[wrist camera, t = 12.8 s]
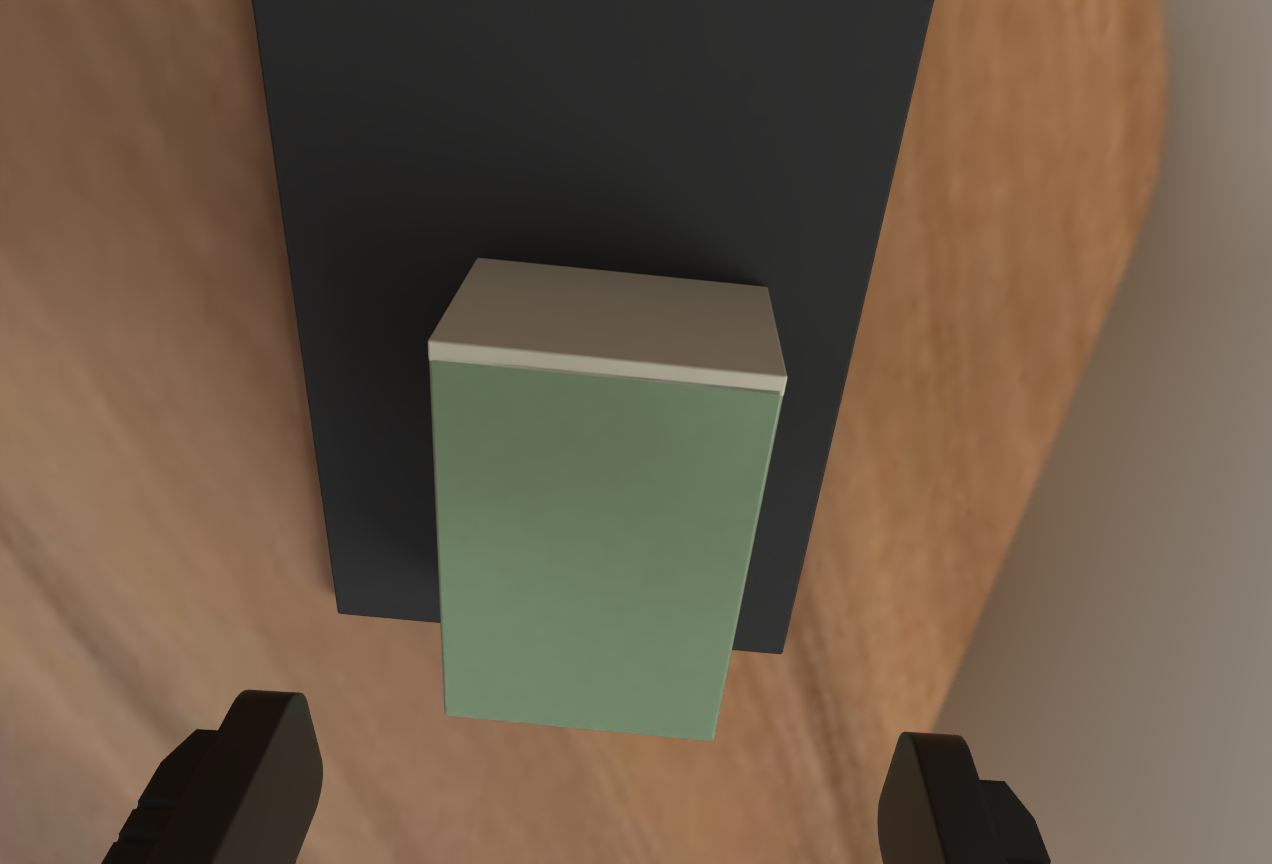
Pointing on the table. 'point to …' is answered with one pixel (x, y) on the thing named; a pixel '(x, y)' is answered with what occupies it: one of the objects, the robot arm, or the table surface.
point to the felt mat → (571, 216)
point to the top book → (598, 492)
